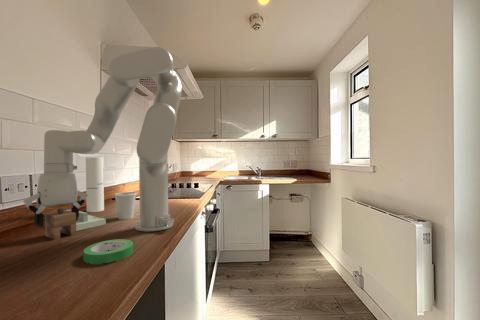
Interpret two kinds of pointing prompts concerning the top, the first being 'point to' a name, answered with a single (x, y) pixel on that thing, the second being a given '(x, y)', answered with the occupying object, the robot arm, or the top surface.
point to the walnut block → (60, 224)
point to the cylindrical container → (94, 184)
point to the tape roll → (118, 247)
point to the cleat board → (87, 221)
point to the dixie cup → (125, 204)
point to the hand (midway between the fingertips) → (57, 223)
